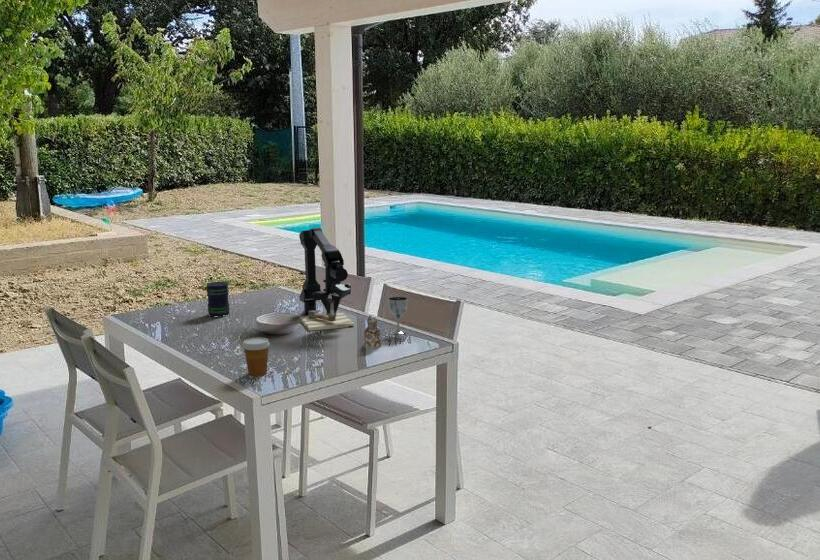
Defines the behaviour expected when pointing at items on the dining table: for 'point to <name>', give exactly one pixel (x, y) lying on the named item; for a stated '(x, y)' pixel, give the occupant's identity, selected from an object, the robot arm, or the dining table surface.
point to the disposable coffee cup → (256, 355)
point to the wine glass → (398, 310)
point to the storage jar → (218, 298)
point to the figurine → (372, 334)
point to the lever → (328, 317)
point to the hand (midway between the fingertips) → (332, 312)
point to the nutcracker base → (326, 322)
